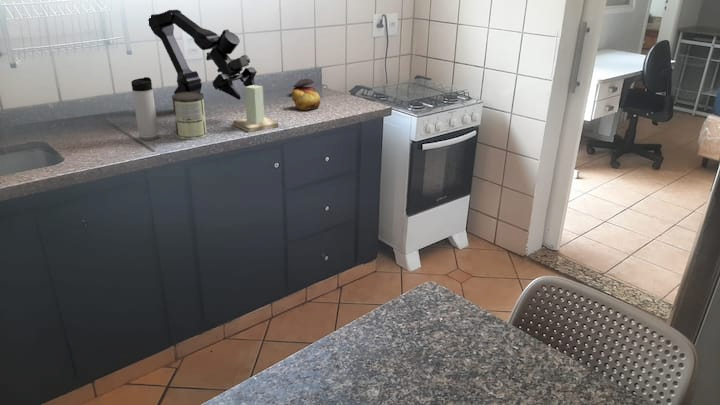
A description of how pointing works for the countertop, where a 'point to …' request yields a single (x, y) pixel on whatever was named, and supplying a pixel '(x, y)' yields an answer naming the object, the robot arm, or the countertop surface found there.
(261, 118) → the sage block
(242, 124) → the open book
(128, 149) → the countertop surface
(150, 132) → the travel mug
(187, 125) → the coffee can
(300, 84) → the dark grey rounded piece
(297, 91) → the bread roll
